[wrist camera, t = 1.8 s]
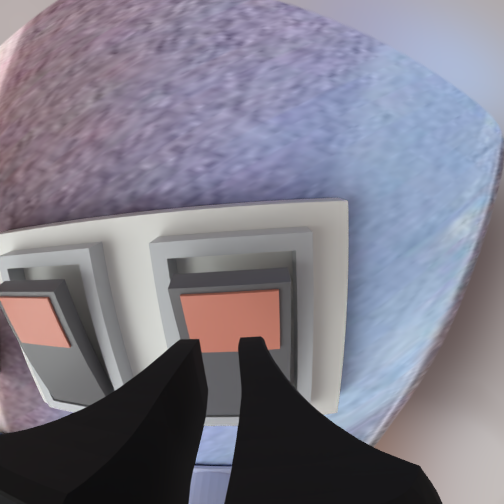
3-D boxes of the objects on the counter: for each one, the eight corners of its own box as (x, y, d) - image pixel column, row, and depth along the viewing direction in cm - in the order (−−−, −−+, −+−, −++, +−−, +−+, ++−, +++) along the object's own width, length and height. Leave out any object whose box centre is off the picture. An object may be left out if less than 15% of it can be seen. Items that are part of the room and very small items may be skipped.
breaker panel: (331, 395, 21) (342, 428, 17) (55, 389, 21) (36, 413, 18) (337, 197, 17) (358, 203, 14) (7, 230, 18) (-25, 241, 14)
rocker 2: (287, 396, 17) (289, 413, 16) (205, 399, 18) (203, 416, 16) (287, 267, 13) (291, 283, 12) (173, 274, 14) (166, 290, 12)
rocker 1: (117, 394, 18) (112, 410, 16) (60, 386, 18) (53, 400, 16) (64, 278, 14) (52, 293, 12) (4, 280, 14) (-8, 293, 13)
